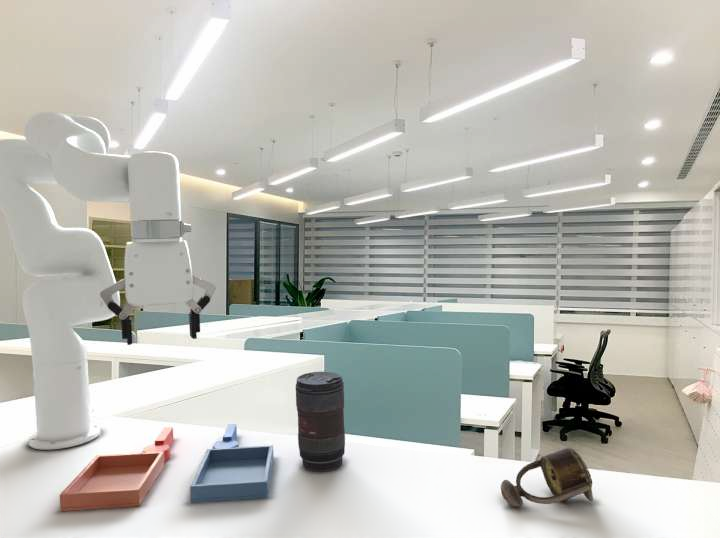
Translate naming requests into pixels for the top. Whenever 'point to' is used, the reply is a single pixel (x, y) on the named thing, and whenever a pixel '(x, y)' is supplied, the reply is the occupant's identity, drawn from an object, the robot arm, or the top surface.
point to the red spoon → (162, 443)
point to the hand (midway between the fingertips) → (162, 340)
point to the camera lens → (320, 420)
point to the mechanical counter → (553, 479)
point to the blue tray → (233, 474)
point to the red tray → (113, 481)
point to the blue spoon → (228, 438)
